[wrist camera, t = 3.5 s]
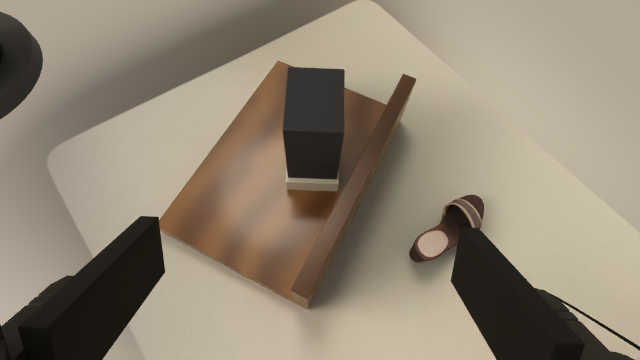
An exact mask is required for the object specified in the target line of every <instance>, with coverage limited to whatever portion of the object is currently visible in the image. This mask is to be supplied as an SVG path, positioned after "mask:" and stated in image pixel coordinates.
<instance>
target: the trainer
mask: <svg viewBox="0 0 640 360" xmlns="http://www.w3.org/2000/svg"><path fill="white" fill-rule="evenodd" d="M282 131H283V139H284V148H285V156H286V165H287V173H286V187H287V190H310V191H337V190H338V184H339V162H340V156H341V150H342V144H343V138H344V69H321V68H298V67H288V73H287V85H286V96H285V107H284V119H283V130H282Z"/></svg>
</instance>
